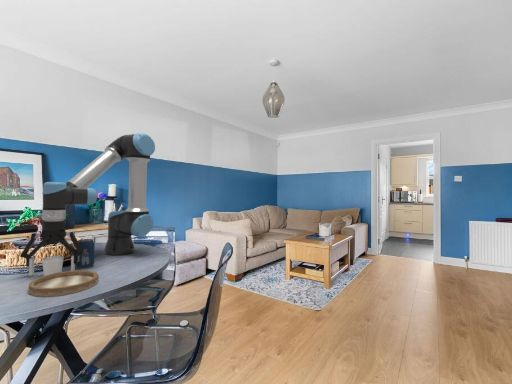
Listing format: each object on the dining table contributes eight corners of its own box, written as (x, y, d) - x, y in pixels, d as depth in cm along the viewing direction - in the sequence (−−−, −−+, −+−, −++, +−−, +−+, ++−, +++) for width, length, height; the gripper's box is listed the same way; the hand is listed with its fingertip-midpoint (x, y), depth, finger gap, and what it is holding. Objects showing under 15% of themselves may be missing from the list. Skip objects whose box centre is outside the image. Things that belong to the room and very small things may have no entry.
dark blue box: (87, 263, 122) (88, 238, 122) (97, 265, 119) (98, 239, 119) (72, 267, 116) (72, 240, 116) (82, 269, 113) (82, 242, 113)
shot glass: (51, 278, 101) (51, 260, 101) (37, 276, 103) (37, 259, 103) (67, 273, 108) (67, 256, 108) (53, 271, 110) (54, 254, 110)
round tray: (91, 273, 109) (91, 267, 109) (104, 286, 94) (104, 280, 94) (27, 284, 95) (27, 277, 95) (30, 301, 80) (31, 294, 80)
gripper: (9, 222, 97) (8, 279, 97) (88, 220, 107) (87, 272, 107) (18, 219, 104) (17, 273, 104) (91, 218, 114) (90, 267, 114)
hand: (52, 272), depth 106 cm, fingers open, 13 cm apart
